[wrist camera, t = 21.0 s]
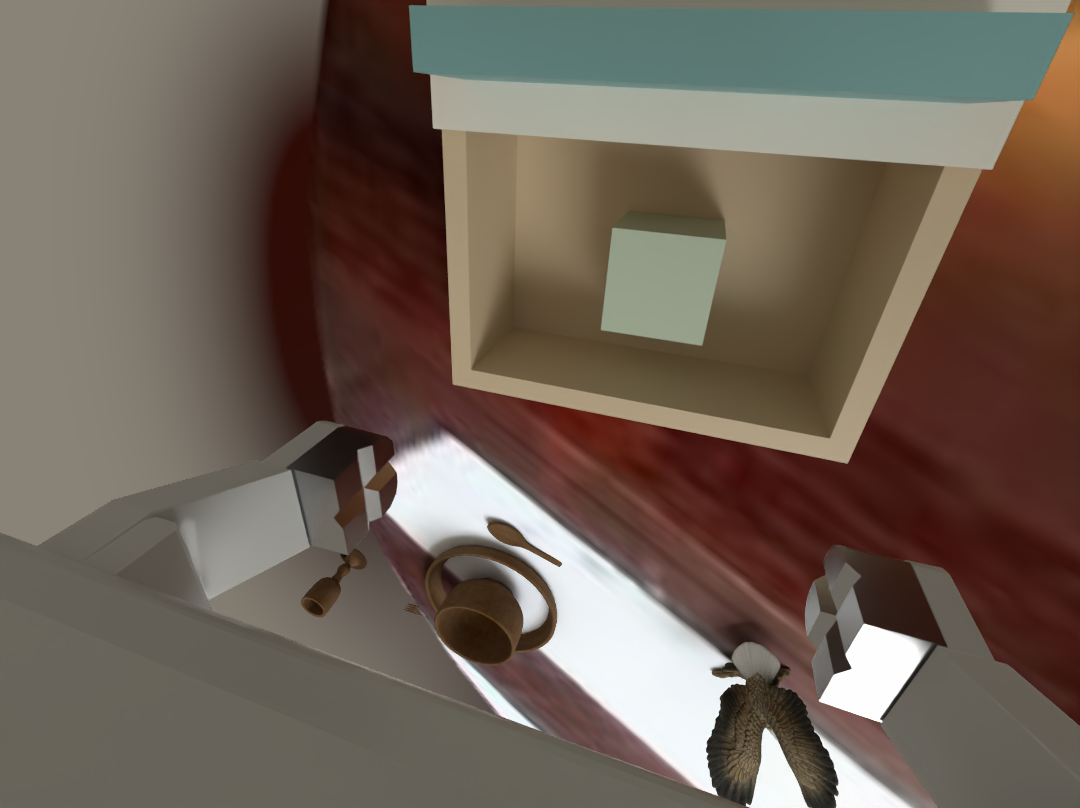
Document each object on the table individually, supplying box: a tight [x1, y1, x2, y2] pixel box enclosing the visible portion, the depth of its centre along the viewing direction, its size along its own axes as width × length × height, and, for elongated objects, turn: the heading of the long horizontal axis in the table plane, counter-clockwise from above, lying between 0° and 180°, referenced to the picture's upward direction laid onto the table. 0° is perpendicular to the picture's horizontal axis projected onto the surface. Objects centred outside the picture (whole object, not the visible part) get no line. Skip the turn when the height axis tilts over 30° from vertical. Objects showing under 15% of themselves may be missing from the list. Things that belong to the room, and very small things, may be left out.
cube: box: [601, 211, 726, 346], centre depth 23 cm, size 4×4×4 cm
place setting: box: [301, 522, 562, 665], centre depth 41 cm, size 18×20×6 cm
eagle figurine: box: [706, 641, 838, 808], centre depth 34 cm, size 8×7×9 cm
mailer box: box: [442, 129, 982, 463], centre depth 20 cm, size 22×18×7 cm
